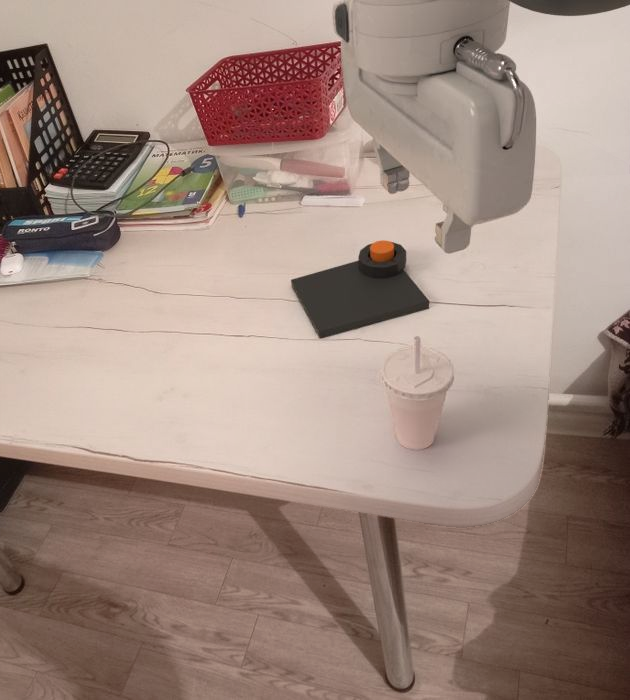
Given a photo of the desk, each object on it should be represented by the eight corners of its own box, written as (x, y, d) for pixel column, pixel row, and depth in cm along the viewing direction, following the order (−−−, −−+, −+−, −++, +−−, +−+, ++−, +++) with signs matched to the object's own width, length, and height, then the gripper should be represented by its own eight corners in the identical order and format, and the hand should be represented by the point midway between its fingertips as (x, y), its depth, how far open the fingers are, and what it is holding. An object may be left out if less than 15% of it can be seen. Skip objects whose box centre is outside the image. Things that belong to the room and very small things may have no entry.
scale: (394, 255, 86) (394, 236, 84) (436, 306, 77) (437, 286, 75) (290, 284, 87) (288, 267, 85) (319, 338, 78) (317, 320, 76)
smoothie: (378, 455, 63) (375, 356, 54) (385, 408, 67) (384, 309, 58) (447, 464, 60) (455, 361, 51) (450, 415, 64) (459, 312, 55)
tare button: (388, 247, 84) (388, 237, 83) (398, 258, 81) (397, 249, 80) (366, 253, 84) (366, 244, 83) (375, 265, 82) (375, 255, 81)
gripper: (591, 48, 30) (545, 277, 39) (406, -23, 46) (404, 152, 55) (462, 86, 30) (446, 305, 39) (323, 3, 46) (334, 172, 55)
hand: (421, 215), depth 47 cm, fingers open, 8 cm apart
